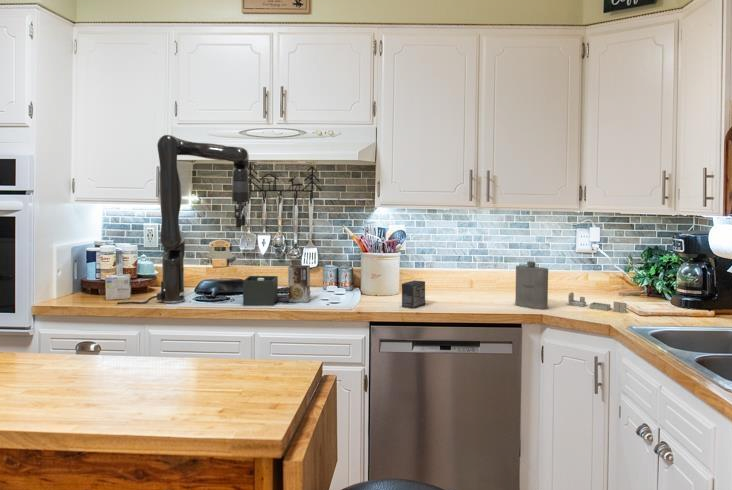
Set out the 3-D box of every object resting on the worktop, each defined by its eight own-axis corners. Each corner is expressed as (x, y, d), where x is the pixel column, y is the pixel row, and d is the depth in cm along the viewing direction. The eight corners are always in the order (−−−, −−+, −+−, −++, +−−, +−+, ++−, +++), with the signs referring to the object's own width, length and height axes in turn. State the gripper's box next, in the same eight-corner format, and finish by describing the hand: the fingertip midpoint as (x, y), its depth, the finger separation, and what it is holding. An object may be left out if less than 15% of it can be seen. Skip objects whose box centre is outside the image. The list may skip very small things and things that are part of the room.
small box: (413, 302, 279) (413, 279, 279) (425, 304, 276) (426, 281, 275) (400, 306, 271) (401, 283, 270) (413, 308, 267) (413, 284, 266)
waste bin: (243, 305, 272) (243, 280, 271) (249, 299, 285) (249, 275, 284) (272, 305, 272) (272, 280, 271) (277, 299, 285) (277, 276, 284)
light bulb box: (131, 296, 291) (130, 273, 290) (130, 298, 285) (130, 275, 284) (106, 297, 288) (106, 274, 287) (105, 300, 281) (104, 276, 281)
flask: (512, 305, 275) (513, 260, 274) (518, 303, 279) (519, 259, 278) (543, 310, 265) (544, 264, 264) (549, 308, 269) (550, 262, 268)
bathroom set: (567, 304, 276) (567, 293, 276) (571, 303, 280) (572, 291, 279) (624, 313, 260) (625, 300, 260) (628, 311, 264) (628, 299, 263)
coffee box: (310, 299, 285) (310, 265, 284) (307, 302, 278) (307, 267, 278) (291, 299, 286) (291, 264, 285) (288, 302, 279) (287, 266, 279)
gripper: (235, 190, 288) (236, 225, 289) (228, 191, 273) (228, 227, 274) (251, 190, 288) (252, 225, 289) (245, 191, 273) (245, 227, 274)
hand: (240, 226), depth 281 cm, fingers open, 8 cm apart
